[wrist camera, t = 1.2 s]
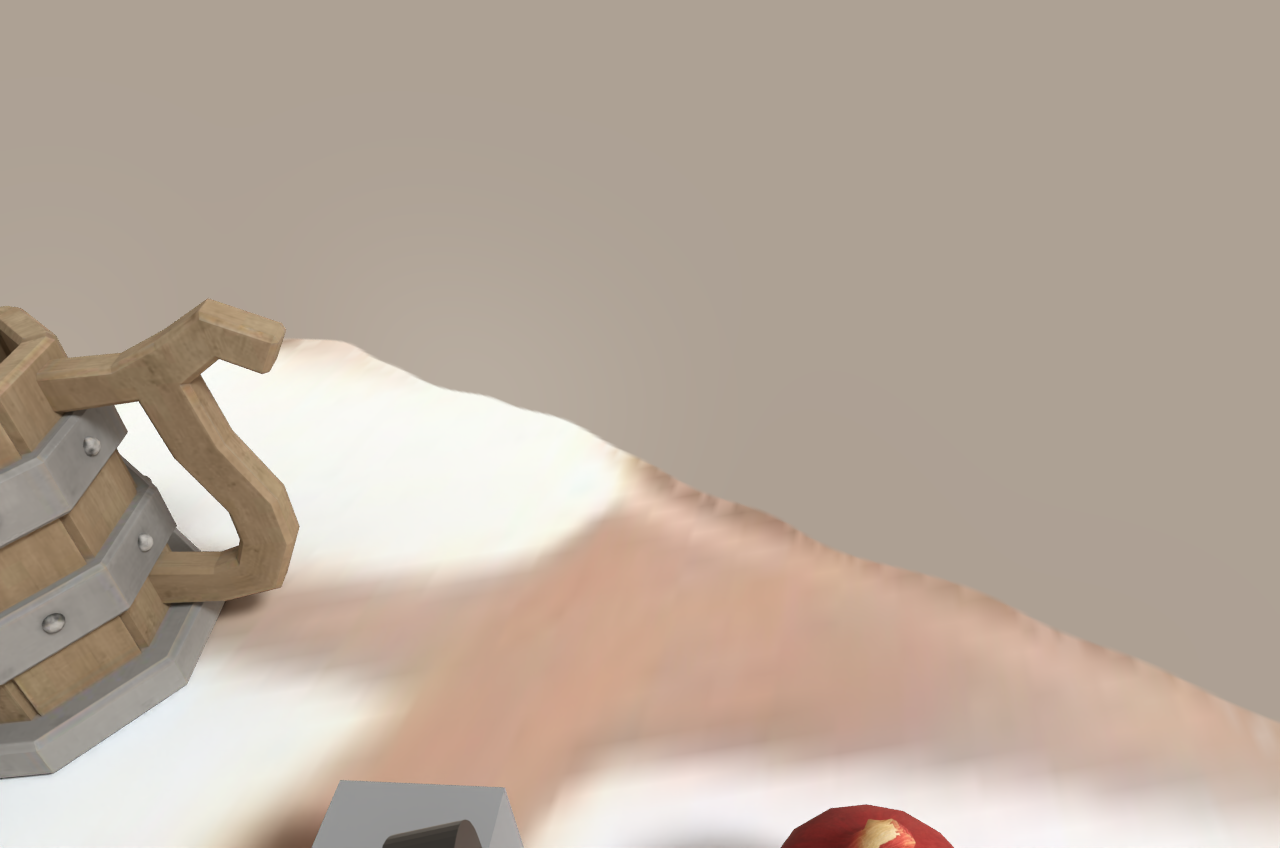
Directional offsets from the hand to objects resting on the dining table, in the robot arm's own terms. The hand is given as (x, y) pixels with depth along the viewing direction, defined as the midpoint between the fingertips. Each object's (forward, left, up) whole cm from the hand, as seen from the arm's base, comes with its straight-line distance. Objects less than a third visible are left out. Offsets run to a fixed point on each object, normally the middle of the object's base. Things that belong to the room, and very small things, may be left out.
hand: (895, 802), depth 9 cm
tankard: (-34, +2, -20) cm, 39 cm away
